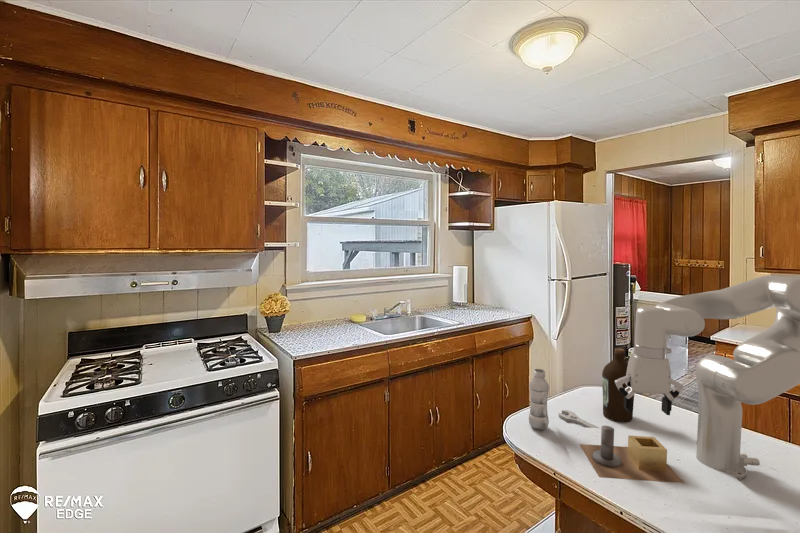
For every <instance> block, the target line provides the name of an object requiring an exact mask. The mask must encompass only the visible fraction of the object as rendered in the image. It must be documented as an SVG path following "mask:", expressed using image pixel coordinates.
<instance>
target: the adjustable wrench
mask: <svg viewBox="0 0 800 533" xmlns="http://www.w3.org/2000/svg"><path fill="white" fill-rule="evenodd" d="M558 418H559V419H560V420H562V421H564V422H566V423H572V422H573V423H572V424H576V425H579V426H581V427H583V428H585V429H586V428H589V429H600V427H599V426H597V425H595V424H593V423H590V422H588V421H586V420H585V419H582V418H580V417H579V415H577V414H576V413H575V412H573V411H571V410H567V409H562V410H561V413H560V412H559V413H558Z"/></svg>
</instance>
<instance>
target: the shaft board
mask: <svg viewBox="0 0 800 533" xmlns="http://www.w3.org/2000/svg"><path fill="white" fill-rule="evenodd" d="M600 427H601V428H600V429H601V430H600V434H601V435H600V436H601V437H600V445H599V444H586V443H585V444H583V443H579V444H578V445H579V446H580V448H581V449H582V452H583V453H584V455H585V456H586V458H587V460H588V461H589V463H590V465H591V466H592V468H593V469H594V471H595V473H596V474H597V476H598V477H599V478H604V479H605V478H606V479H607V478H608V479H621V480H633V481H634V480H635V481H648V482H649V481H650V482H665V483H677V484H685V481H683V479H682V478H681V477H680V476H679V475H678V474H677V473H676V471H675V470H673V469H672V468H671V466H670V465H669V464H668V463H667V467H666V471H657V470H642V469H638V468H637V467H636V465H635V464H634V463H633V462H632V460H631V459H630V458H629V457H628V446H617V445H614V444H615V443H614V442H615V428H614V427H612V426H610V425H602V426H600Z"/></svg>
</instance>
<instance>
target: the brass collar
mask: <svg viewBox="0 0 800 533" xmlns="http://www.w3.org/2000/svg"><path fill="white" fill-rule="evenodd" d="M627 437H628V438H627V439H628V440H627V447H628V457H629V458H630V459H631V460H632V462H633V463H634V464H635V465H636V467H637V468H638V469H642V470H657V471H666V467H667V464H668V463H667V462H668V461H667V460H668V449H667V448H666V447H665V445H663V444H662V443H661V442H660V441H659V440H658V439H657V438H656V437H654V436H642V435H627Z"/></svg>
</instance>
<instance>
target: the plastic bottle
mask: <svg viewBox="0 0 800 533" xmlns="http://www.w3.org/2000/svg"><path fill="white" fill-rule="evenodd" d="M532 375H533V378H532V379H531V380H530V381H529V384H528V387H529V396H530V409H529V415H528V424H529V426H530V427H531V428H532V429H535V430H539V431H544V430H547V428H548V427H549V422H550V420H549V415H548V414H549V413H548V397H549V390H550V386H549V383H548V381H547V380H546V371H545V370H544V369H540V368H536V369H535V368H534V369H533V374H532Z"/></svg>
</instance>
